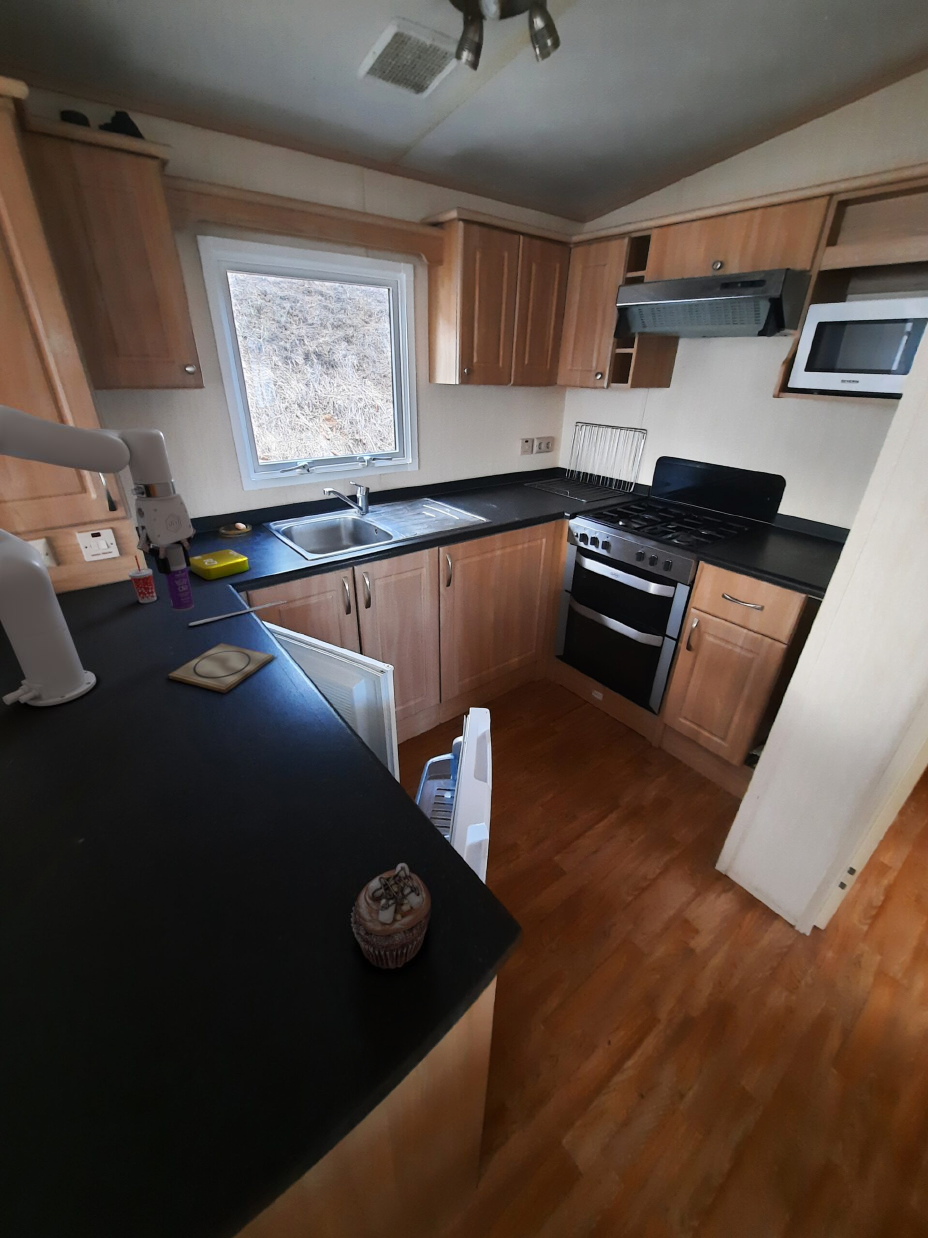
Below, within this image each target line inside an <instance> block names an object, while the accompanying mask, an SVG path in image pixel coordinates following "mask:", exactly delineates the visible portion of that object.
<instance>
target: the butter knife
mask: <svg viewBox="0 0 928 1238" xmlns="http://www.w3.org/2000/svg"><path fill="white" fill-rule="evenodd" d="M283 603H287V600H281V601H277V602H272V603H265V604H262V605H258V606H254V607H251V608H247V609H244V610H241V611H236V612H233V613H228V614H223V615H218V616H214V617H209V618H206V619H200V620H197V621H193V622H190V623H188V626H190V627H191V626H197V625H203V624H206V623H211V622H214V621H218V620H221V619H224V618H229V617H232V616H237V615H240V614H244V613H248V612H251V611H257V610H261V609H264V608H269V607H272V606H276V605H280V604H283Z"/></svg>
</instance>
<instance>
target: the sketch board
mask: <svg viewBox="0 0 928 1238" xmlns="http://www.w3.org/2000/svg"><path fill="white" fill-rule="evenodd" d="M274 658H275V657H274V654H271V653H266V652H262V651H257V650H253V649H249V648H244V647H240V646H236V645H232V644H227V643H224V642H221V643H219V644H217V645H216V646H214V647H212V648H211V649H209V650H207V651H206V652H204V653H202V654H201V655H199V656H197V657H195V658H193V659H192V660H190V661H189V662H187V663H185V664H184V665H182V666H180V667H179V668H177V669H175V670H174V671H172V672H171V673H169V674H168V678H169V679H171V680H174V681H177V682H182V683H186V684H189V685H194V686H197V687H200V688H204V689H208V690H211V691H216V692H220V693H223V694H226V693H228V692H229V691H230V690H232V689H234V688H235V687H236V686H238V685H239V684H240V683H241V682H243V681H244V680H246V679H247V678H248V677H250V676H251V675H253V674H254V673H256V672H257V671H258V670H260V669H261V668H263V667H264V666H265V665H267V664H268V663H270V662H271V661H273V660H274Z"/></svg>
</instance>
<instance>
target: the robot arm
mask: <svg viewBox="0 0 928 1238" xmlns="http://www.w3.org/2000/svg"><path fill="white" fill-rule="evenodd" d="M167 449H168V448H167V445H166V441H165V437H164V434H163V433H162V431H160V430H159V429H157V428H152V427H136V428H135V427H134V428H126V429H108V428H98V427H97V428H95V427H94V428H93V427H92V428H84V427H78V426H73V425H70V424H69V425H68V424H64V423H61V422H57V421H52V420H48V419H44V418H41V417H38V416H36V415H32V414H30V413H28V412H25V411H22V410H20V409H17V408H13V407H11V406H7V405H3V404H0V455H3V456H8V457H12V458H15V459H20V460H26V461H32V462H33V461H34V462H38V463H43V464H48V465H52V466H53V465H54V466H58V467H63V468H69V469H74V470H80V471H85V472H86V471H87V472H93V473H99V474H108V475H109V474H117V473H119V472H122V471H124V470H125V469H126V468H127V466H128V468H129V472H130V476H131V480H132V484H133V488H131V489H130V493H131V494H132V496H136V498H135V499H134V505H135V507H134V508H135V516H136V522H137V528H138V532H139V535H140V537H139V539H138V542H137V544H136V548H137V550H140V551H142V552H144V553H145V554H148V555H150V556H151V558H153V559H154V561H155V566H156V569H157V572H158V573H159V574H162V575H165V574H167V575H169V574H171V569H170V565H169V561H168V558H167V557H165V545H167V544H180V545H181V546H182V549H183V554H184V558H185V563H186V567H187V568H189V567H190V566H191V563H190V558H191V557H190V554H189V549H190V548H191V547H190V543H191V542H192V540H193V537H194V535H195V534H196V533H197V531H196V529H195V528H194V527H193V525H192V522H191V518H190V514H189V512H188V508H187V506H186V504H185V501H184V499H183V497H182V495H181V493H179V492H177V488H176V485H175V480H174V476H173V472H172V468H171V463H170V459H169V454H168V450H167ZM149 544H150V545H149ZM48 571H49V570H48V569H47V566H46V563H45V561H44V557H43V556H42V554H41V553H40V551H39V550H38V549H37V548H36V547H35V546H34V545H32V544H30V543H29V542H27V541H26V540H24V539H22V538H20V537H18V536H16V535H15V534H12V533H11V532H9V531H6V530H5V529H3V528H1V527H0V623H1V625H2V627H3V629H4V631H5V634H6V636H7V639H8V640H9V642H10V645H11V647H12V650H13V652H14V654H15V656H16V659H17V661H18V664H19V666H20V669H21V670H22V672H23V675H24V677H25V679H23V680H21V681H20V683H21V685H22V686H20V687H18V689H17V690H15V691H12V692H10V693H8V694H6V695H3V696H2V701H3V703H4V704H6V705H8V706H9V705H12V704H13V703H15V702H18V701H19V702H20V704H24V703H26V704H28V705H30V706H35V707H49V706H55V705H60V704H63V703H68V702H70V701H73V700H75V699H77V698H80V697H81V696H83V695H86V694H87V693H88V692H89V691H90V690H92V689H93V688H94V686H95V685H96V683H97V677H96V676H95V674H94V673H93V672H92V671H90V670H89V671H88V670H84V667H83V665H82V662H81V660H80V657H79V654H78V652H77V651H78V650H77V648H76V646H75V643H74V640H73V638H72V635H71V633H70V629H69V627H68V625H67V622H66V619H65V617H64V614H63V611H62V608H61V606H60V603H59V600H58V598H57V595H56V592H55V588H54V587H53V583H52V580H51V577H50V574H49V572H48Z"/></svg>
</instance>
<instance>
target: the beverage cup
mask: <svg viewBox="0 0 928 1238" xmlns="http://www.w3.org/2000/svg"><path fill="white" fill-rule="evenodd" d="M134 558H135V562H136V566H137V569H134V570H130V571H129V572H128V574H127V575H128V578H130V580H131V583H132V587H133V588H134V591H135V594H136V596H137V599H138V602H139V603H141V604H148V603H152V602H155V601H156V600H157V599H158V598H157V593H156V588H155V582H154V578H153V569H151V568H146V567H145V568H141V567H140V563H139V559H138V555H134Z"/></svg>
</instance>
